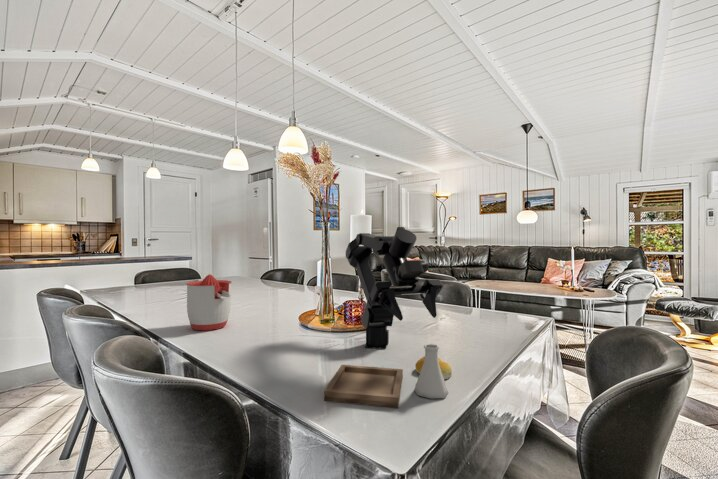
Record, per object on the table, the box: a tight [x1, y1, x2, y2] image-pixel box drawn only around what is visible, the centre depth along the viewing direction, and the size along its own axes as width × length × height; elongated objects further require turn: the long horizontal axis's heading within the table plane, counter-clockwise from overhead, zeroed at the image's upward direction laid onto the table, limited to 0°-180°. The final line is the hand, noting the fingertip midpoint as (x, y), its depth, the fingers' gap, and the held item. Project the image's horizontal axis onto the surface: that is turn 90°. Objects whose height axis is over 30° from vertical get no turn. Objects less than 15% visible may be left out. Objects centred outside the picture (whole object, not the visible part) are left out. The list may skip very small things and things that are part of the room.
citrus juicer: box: [186, 274, 232, 332], centre depth 126 cm, size 16×17×20 cm
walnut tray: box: [323, 364, 404, 409], centre depth 74 cm, size 15×15×2 cm
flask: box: [414, 343, 449, 400], centre depth 72 cm, size 7×7×10 cm
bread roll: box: [415, 355, 453, 381], centre depth 83 cm, size 8×9×4 cm
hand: (418, 318), depth 81 cm, fingers open, 9 cm apart
